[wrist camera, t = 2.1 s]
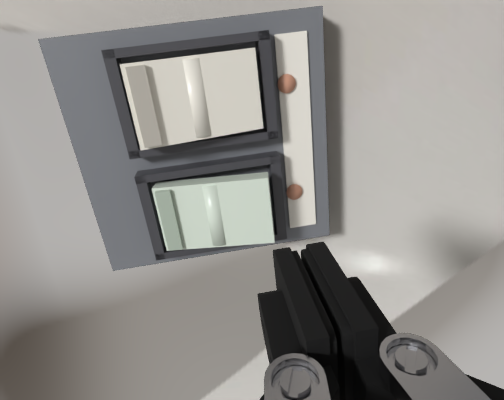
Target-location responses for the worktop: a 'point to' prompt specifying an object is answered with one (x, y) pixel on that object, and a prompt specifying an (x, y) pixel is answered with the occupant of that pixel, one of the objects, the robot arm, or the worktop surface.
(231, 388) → the worktop surface
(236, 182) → the rocker sage
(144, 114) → the rocker ivory
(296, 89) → the switch panel
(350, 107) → the worktop surface
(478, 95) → the worktop surface
